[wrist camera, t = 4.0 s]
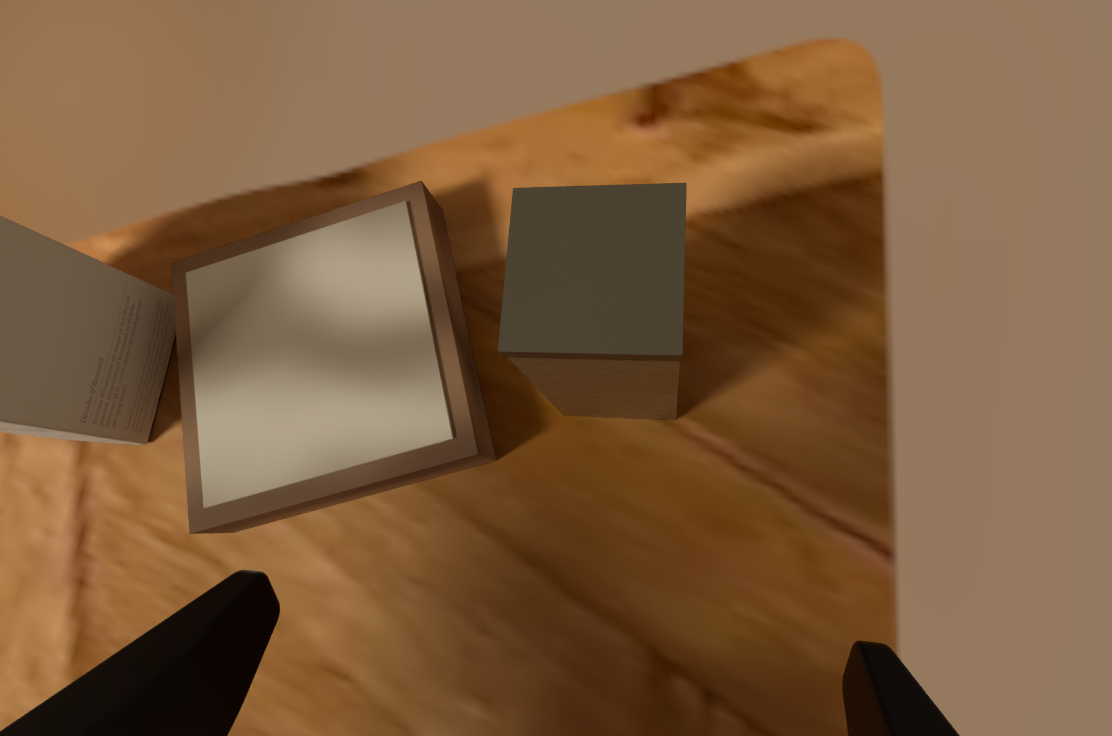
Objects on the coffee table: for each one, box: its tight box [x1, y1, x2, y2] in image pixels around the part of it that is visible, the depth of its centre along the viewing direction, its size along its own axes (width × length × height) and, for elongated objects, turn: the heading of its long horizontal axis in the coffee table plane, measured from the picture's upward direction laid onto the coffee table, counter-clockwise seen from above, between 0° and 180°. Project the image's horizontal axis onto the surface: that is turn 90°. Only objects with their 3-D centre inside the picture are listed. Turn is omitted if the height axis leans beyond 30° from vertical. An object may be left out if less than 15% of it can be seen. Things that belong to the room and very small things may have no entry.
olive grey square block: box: [498, 183, 686, 420], centre depth 20 cm, size 5×5×10 cm
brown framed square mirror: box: [171, 181, 496, 534], centre depth 26 cm, size 12×12×3 cm
